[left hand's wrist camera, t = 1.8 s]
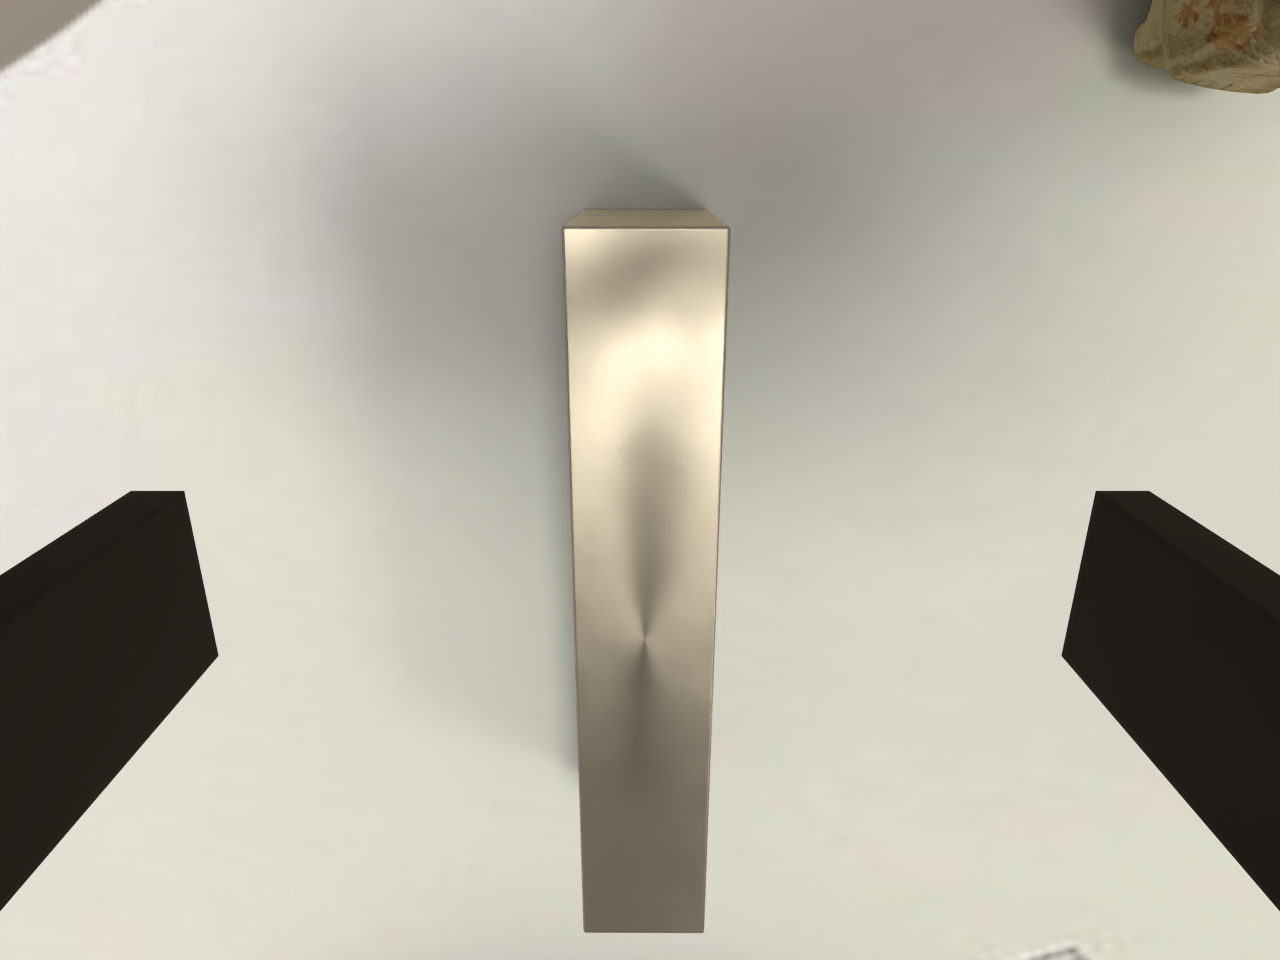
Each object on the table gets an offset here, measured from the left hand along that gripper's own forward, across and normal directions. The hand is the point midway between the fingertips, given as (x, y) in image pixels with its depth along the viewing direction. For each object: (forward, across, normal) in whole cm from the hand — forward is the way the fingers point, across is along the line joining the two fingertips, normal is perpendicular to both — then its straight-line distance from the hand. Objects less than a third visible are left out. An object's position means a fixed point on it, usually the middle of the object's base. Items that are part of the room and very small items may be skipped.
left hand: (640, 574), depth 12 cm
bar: (+20, 0, -8) cm, 22 cm away
